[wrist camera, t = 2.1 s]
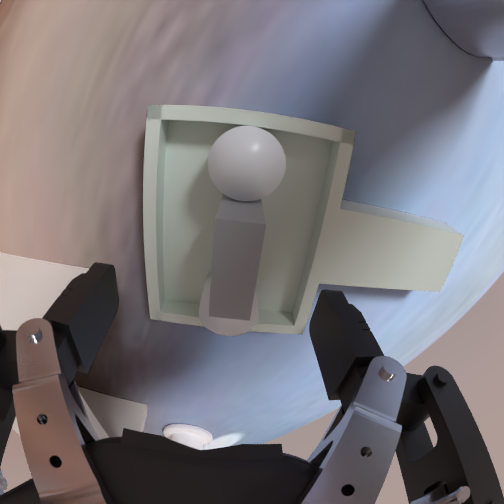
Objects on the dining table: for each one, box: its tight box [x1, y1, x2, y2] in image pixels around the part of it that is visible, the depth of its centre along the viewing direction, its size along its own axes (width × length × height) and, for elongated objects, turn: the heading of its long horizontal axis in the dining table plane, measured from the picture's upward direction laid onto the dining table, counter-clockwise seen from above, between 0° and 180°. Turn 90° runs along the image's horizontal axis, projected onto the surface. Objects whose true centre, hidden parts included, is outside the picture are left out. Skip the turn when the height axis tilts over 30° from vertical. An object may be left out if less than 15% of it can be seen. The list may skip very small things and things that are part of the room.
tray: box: [143, 105, 464, 336], centre depth 15 cm, size 22×14×6 cm, turn 82°
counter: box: [0, 252, 148, 440], centre depth 18 cm, size 16×21×11 cm
